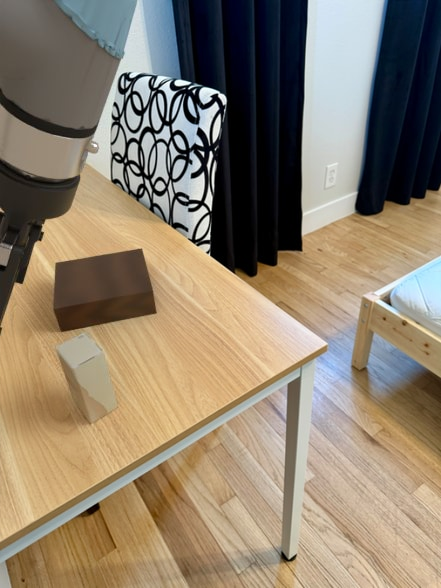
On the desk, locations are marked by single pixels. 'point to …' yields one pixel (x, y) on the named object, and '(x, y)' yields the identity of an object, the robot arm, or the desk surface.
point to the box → (87, 376)
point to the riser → (102, 290)
